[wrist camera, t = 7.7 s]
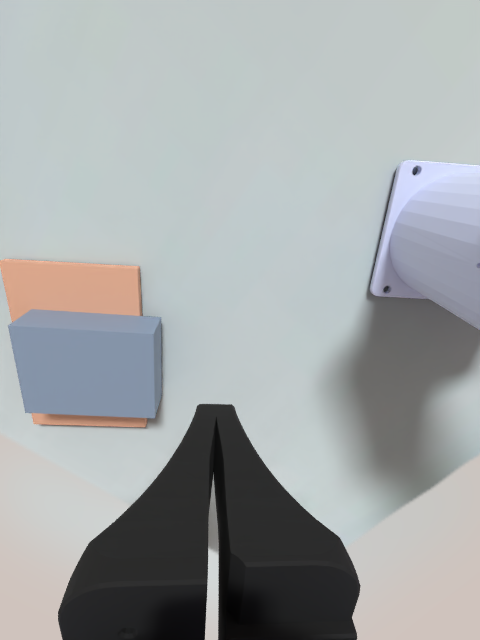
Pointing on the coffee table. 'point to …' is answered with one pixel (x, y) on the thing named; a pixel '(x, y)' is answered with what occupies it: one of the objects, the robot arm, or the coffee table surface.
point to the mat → (73, 306)
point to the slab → (88, 363)
